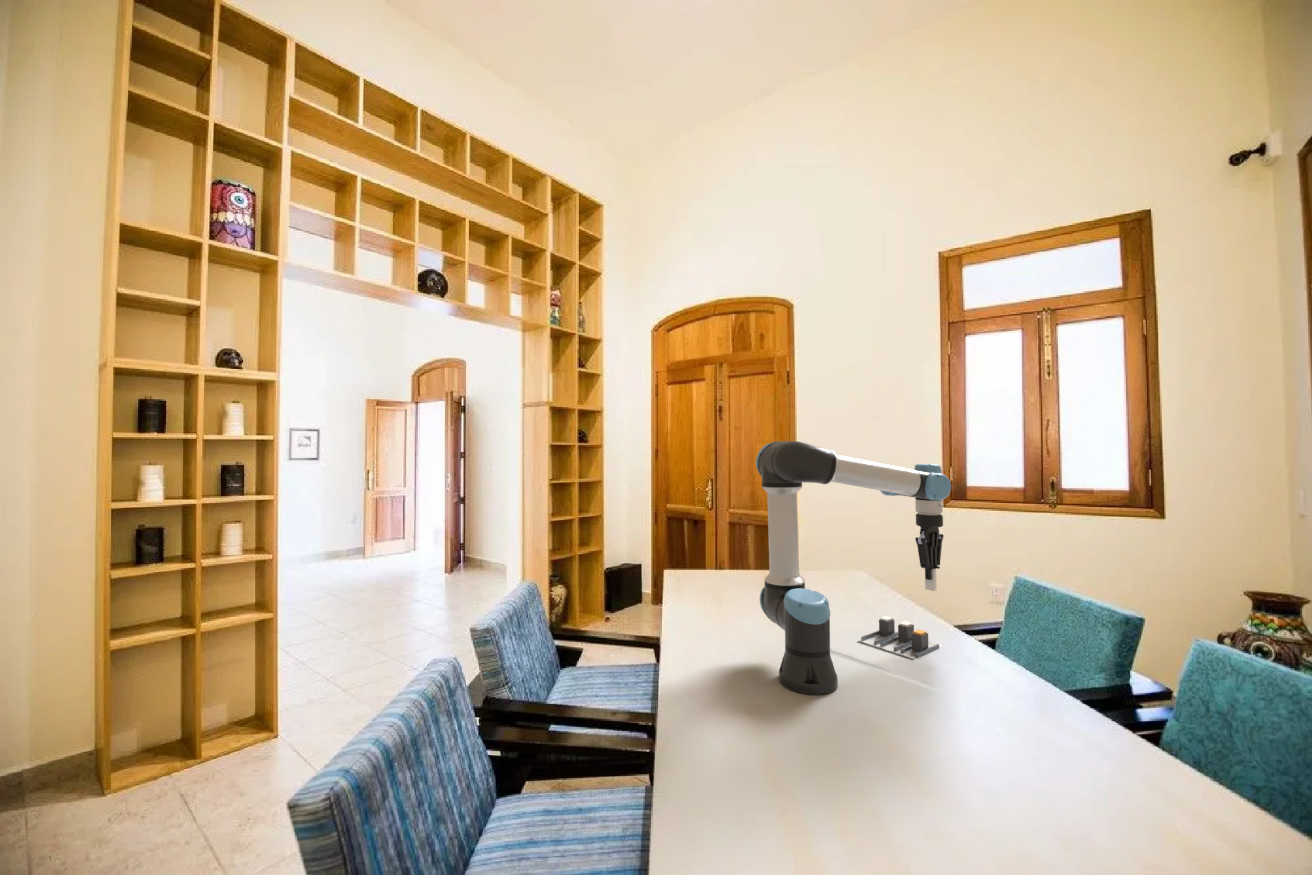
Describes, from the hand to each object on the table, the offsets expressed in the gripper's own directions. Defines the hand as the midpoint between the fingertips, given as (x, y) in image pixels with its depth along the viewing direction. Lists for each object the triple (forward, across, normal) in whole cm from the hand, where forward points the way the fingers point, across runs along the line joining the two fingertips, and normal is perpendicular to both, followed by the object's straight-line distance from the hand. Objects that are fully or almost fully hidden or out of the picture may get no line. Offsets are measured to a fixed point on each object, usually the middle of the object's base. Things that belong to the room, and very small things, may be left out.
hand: (930, 589), depth 163 cm
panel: (+18, -7, +6) cm, 21 cm away
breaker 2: (+17, -3, +6) cm, 18 cm away
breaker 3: (+17, -7, 0) cm, 18 cm away
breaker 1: (+17, -3, +13) cm, 22 cm away
